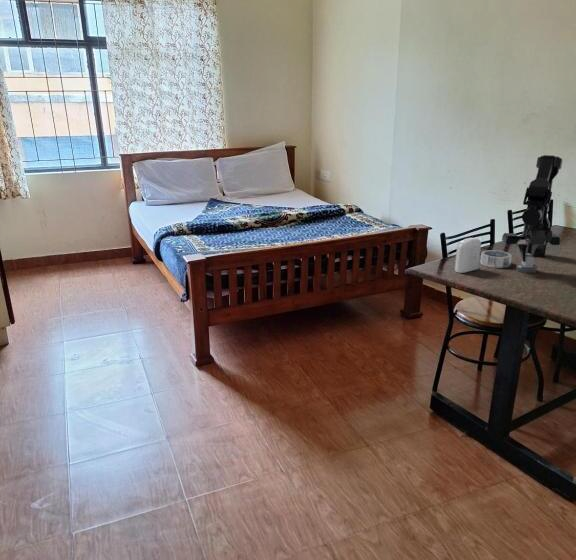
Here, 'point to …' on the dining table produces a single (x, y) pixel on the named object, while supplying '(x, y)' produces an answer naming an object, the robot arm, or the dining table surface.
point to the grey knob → (527, 265)
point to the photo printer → (467, 255)
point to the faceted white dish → (495, 259)
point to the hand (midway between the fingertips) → (527, 261)
